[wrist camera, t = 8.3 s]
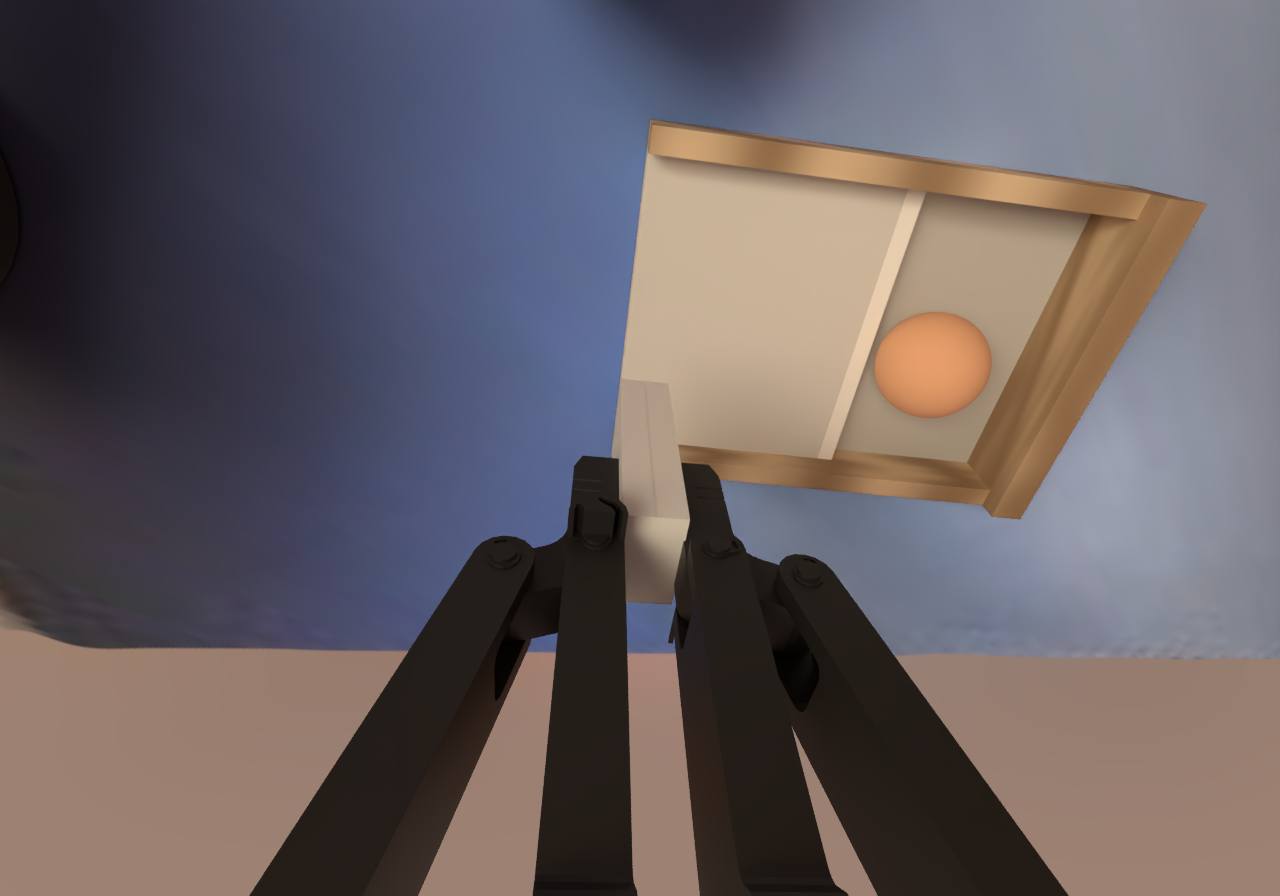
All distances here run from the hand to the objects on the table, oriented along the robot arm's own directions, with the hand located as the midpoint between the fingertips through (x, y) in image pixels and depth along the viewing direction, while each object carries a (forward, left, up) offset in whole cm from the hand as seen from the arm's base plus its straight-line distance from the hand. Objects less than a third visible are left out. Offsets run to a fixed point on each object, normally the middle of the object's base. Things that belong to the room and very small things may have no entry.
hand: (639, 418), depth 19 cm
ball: (+14, -1, -9) cm, 17 cm away
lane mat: (+11, 0, -12) cm, 16 cm away
